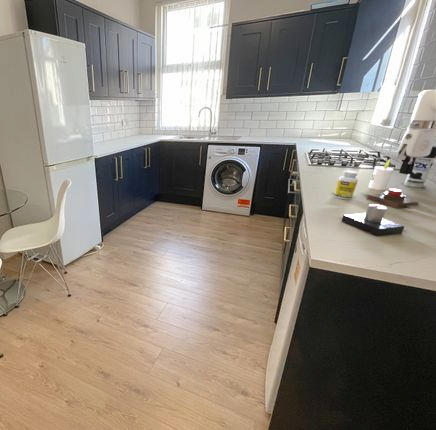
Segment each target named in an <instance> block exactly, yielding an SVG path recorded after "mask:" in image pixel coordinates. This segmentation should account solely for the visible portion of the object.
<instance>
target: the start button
mask: <svg viewBox="0 0 436 430" xmlns="http://www.w3.org/2000/svg"><path fill="white" fill-rule="evenodd" d="M387 191H388V194H391V195H397V196H401V194H403V190H401V189H398V188H389V189H388V190H387Z"/></svg>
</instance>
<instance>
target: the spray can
mask: <svg viewBox="0 0 436 430" xmlns="http://www.w3.org/2000/svg"><path fill="white" fill-rule="evenodd" d="M435 159H436V145H433V147H432V150H431V152H430V154H429V155H428V156H424V157H423V158H421V159H419V160H418V161H417V163H416V164H415V165H414V168H413V171H412V173H411V174H406V177H405V181H404V183H403V185H404V186H407V187H410V188H411V187H412V188H424V186H425V183H426V182H427V178H428V176H429V173H430V171H431V170H432V166H433V164H434V162H435Z"/></svg>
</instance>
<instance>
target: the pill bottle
mask: <svg viewBox="0 0 436 430" xmlns="http://www.w3.org/2000/svg"><path fill="white" fill-rule="evenodd" d="M358 173H359V172H357V171H355V170H343V173H342V176H339V177H338V180H337V182H336V186H335V190H334V192H333V196H334V198H336V199H340V200H351V199H353V196H354V193H355V191H356V188H357V185H358V181H359V179H358V178H357V176H358Z"/></svg>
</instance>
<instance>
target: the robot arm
mask: <svg viewBox="0 0 436 430" xmlns="http://www.w3.org/2000/svg"><path fill="white" fill-rule="evenodd" d="M435 139H436V89H426V90H423V91H421V92H420V93H419V94H418V97H417V99H416V103H415V105H414V109H413V111H412V115H411V117H410V120H409V122H408V126H407V129H406V131H405V133H404V134H403V137H402V138H401V141H400V143H399V146H398V149H397V155H398V157H397V159H398V160H401V165H400V169H399V171H398V173H399V174H402V175H408V174H411V173H412V171H413V168H414V165H415V164H416V163H417V161H418V160H419V159H421V158H423V157H424V156H428V155H429V154H430V152H431V150H432V147H433V146H434V143H435Z"/></svg>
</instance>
